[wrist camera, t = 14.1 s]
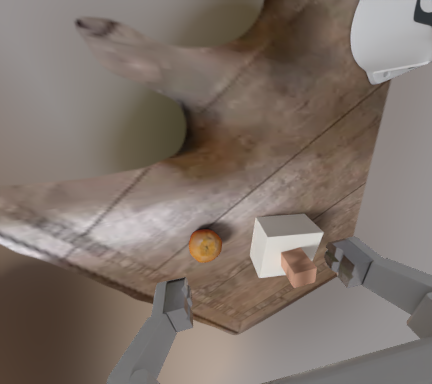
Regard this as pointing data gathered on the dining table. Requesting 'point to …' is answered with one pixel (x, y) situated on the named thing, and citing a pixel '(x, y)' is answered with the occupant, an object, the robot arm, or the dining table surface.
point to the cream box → (282, 241)
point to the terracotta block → (298, 267)
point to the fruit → (205, 245)
